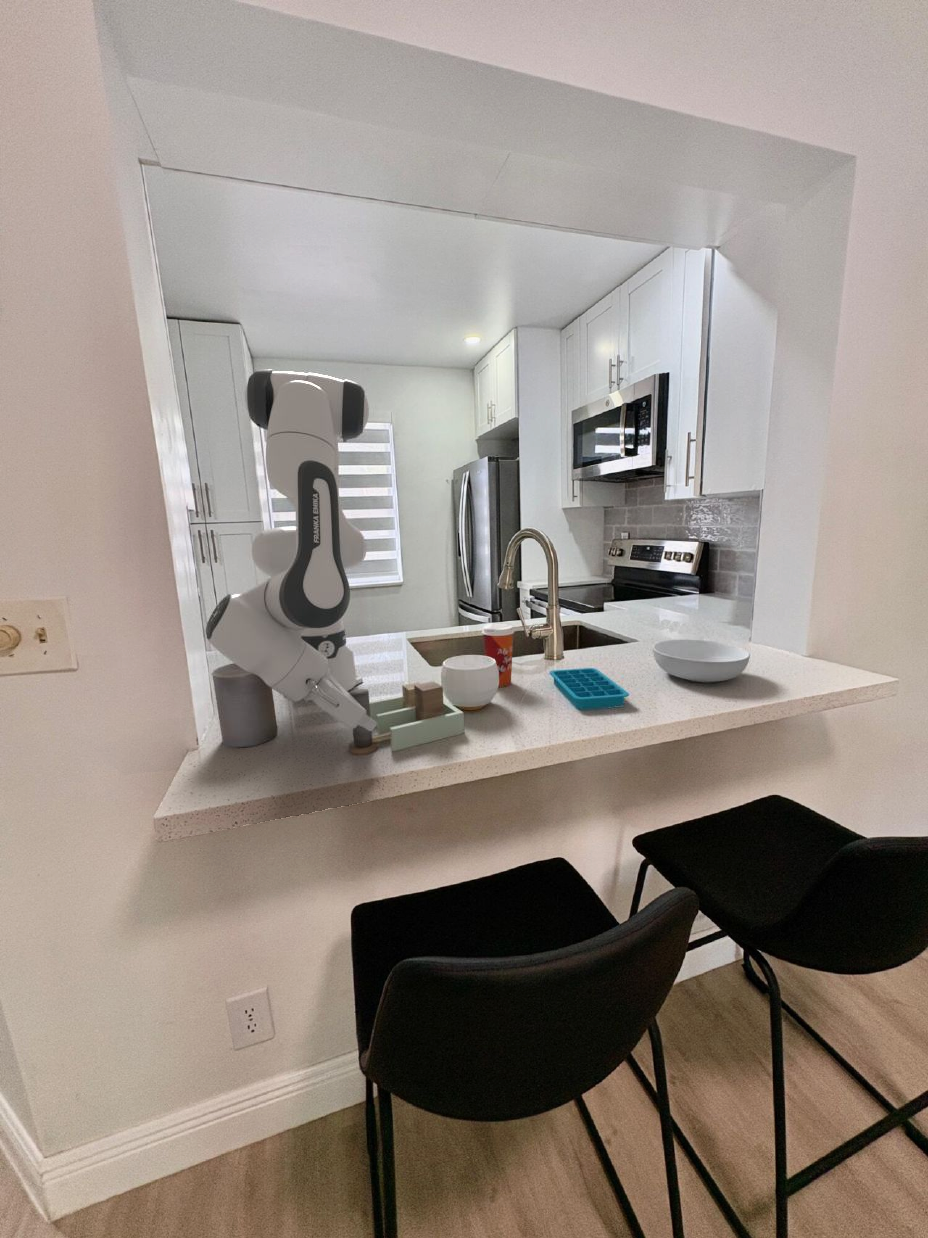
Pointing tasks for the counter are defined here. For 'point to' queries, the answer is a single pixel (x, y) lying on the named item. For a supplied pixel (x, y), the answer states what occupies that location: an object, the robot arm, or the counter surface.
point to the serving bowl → (700, 659)
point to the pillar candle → (243, 707)
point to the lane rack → (414, 723)
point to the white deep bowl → (470, 680)
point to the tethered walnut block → (364, 743)
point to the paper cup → (500, 649)
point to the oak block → (409, 695)
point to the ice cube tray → (588, 688)
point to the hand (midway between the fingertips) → (364, 717)
